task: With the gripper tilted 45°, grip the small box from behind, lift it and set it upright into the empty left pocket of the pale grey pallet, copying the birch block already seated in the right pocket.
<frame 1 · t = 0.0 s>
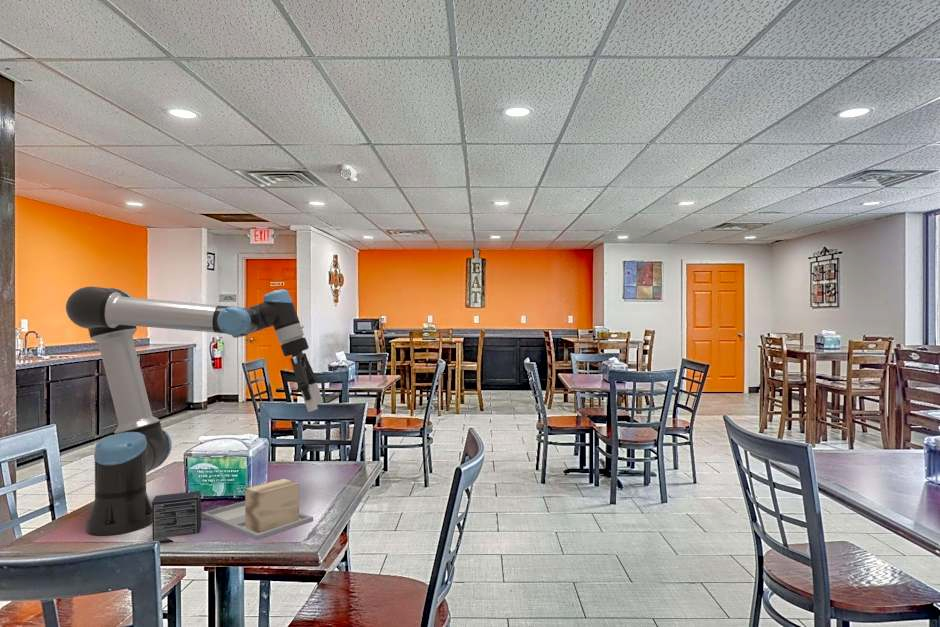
hand: (316, 407, 171), 28 cm above the table, tool tilted 20°, fingers open, 13 cm apart
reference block: (272, 524, 146), point 1 cm above the table, touching pallet
pallet: (256, 524, 150), on the table
small box: (177, 538, 142), on the table
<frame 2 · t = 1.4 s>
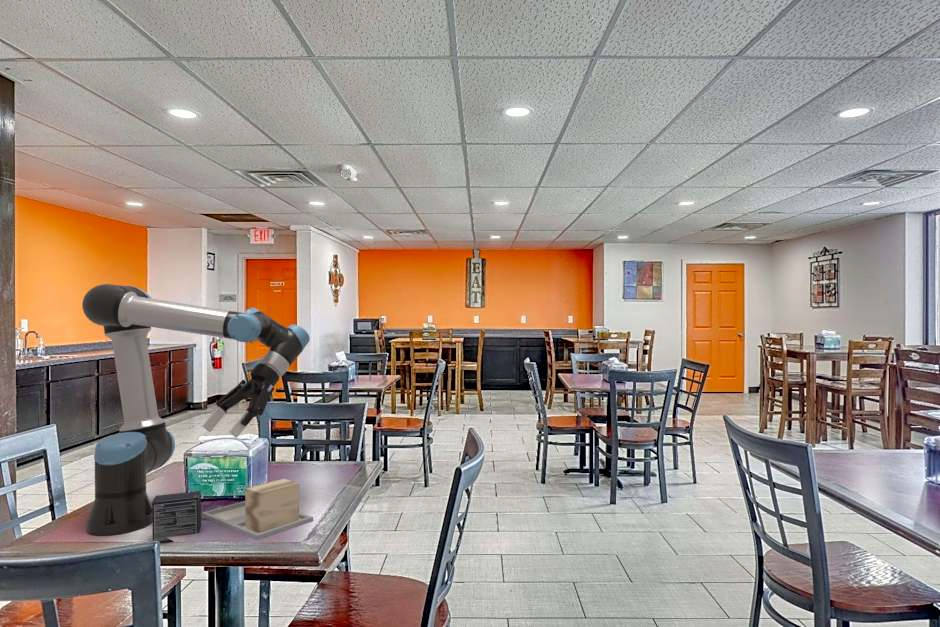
hand: (218, 431, 150), 25 cm above the table, tool tilted 45°, fingers open, 13 cm apart
nothing on the table moved.
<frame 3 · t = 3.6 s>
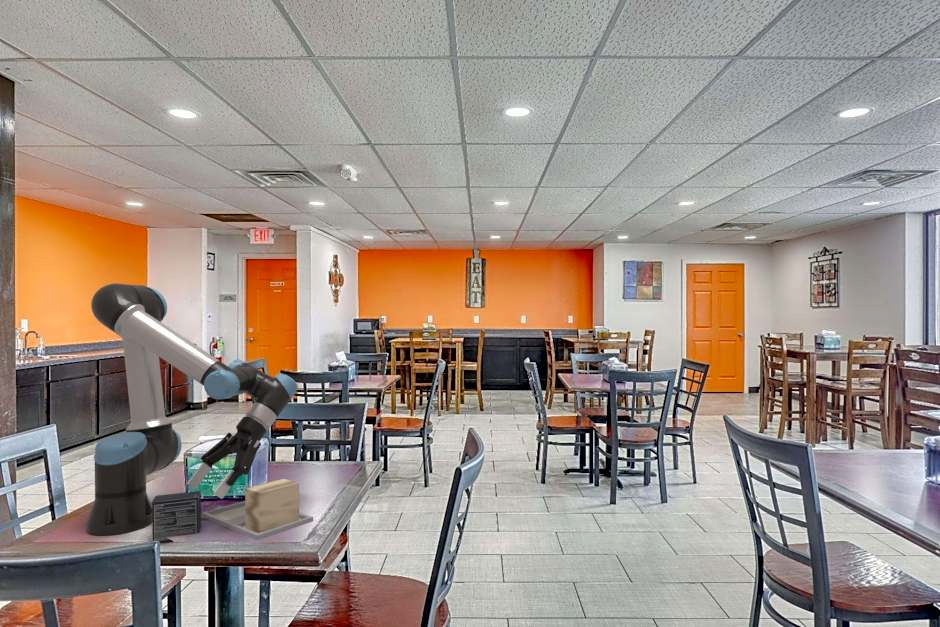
hand: (203, 491, 146), 10 cm above the table, tool tilted 45°, fingers open, 13 cm apart
nothing on the table moved.
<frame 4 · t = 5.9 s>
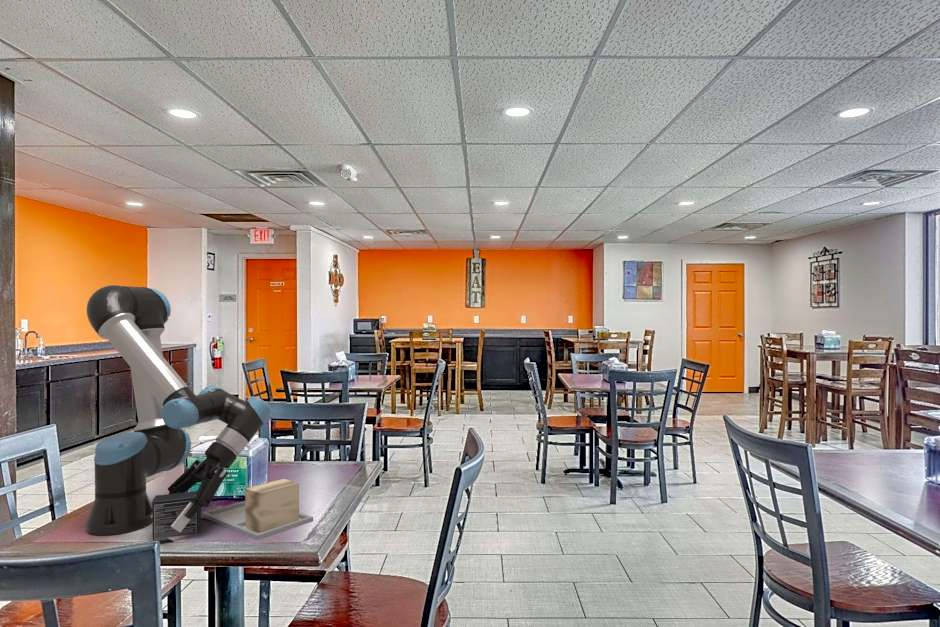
hand: (165, 524, 139), 4 cm above the table, tool tilted 45°, fingers closed on small box, 10 cm apart
small box: (177, 538, 142), on the table, touching gripper
everything else where it was.
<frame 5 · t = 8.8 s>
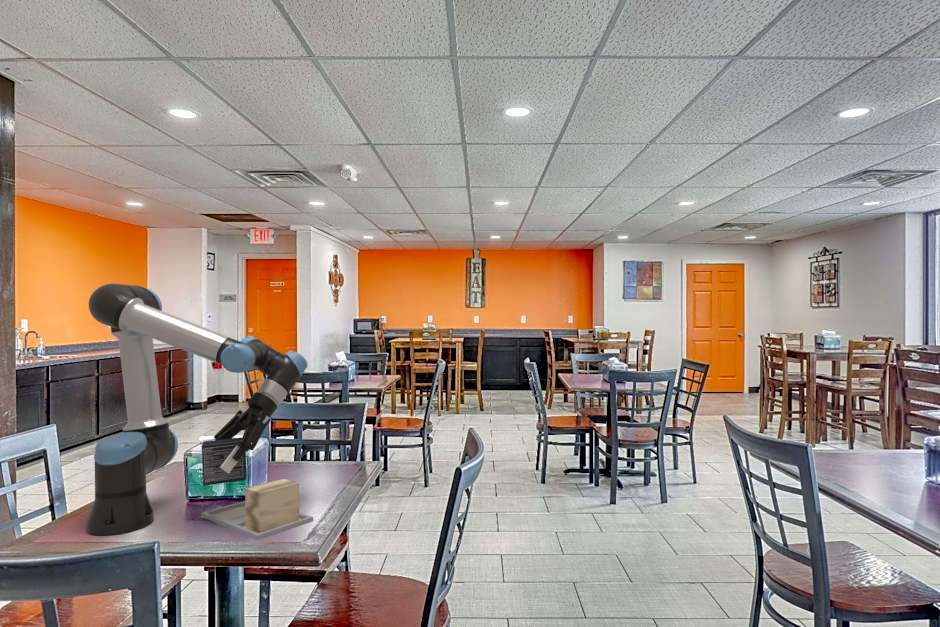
hand: (213, 467, 148), 16 cm above the table, tool tilted 45°, fingers closed on small box, 10 cm apart
small box: (225, 480, 151), point 12 cm above the table, touching gripper
everything else where it was.
when the fingers open (7 cm above the table, at t = 11.7 s): small box stays where it is, resting on pallet.
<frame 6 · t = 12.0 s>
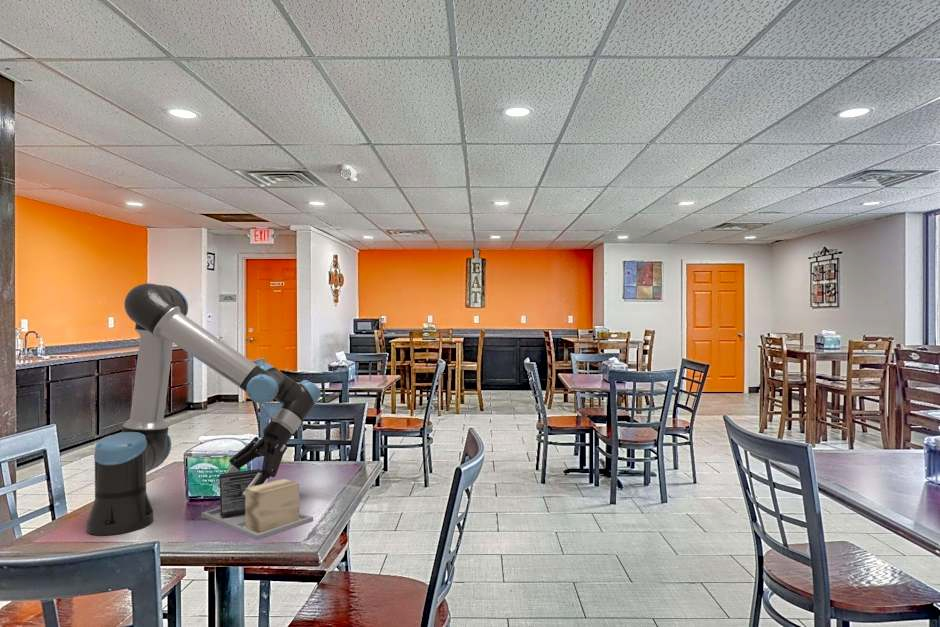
hand: (232, 492, 153), 8 cm above the table, tool tilted 45°, fingers open, 13 cm apart
small box: (241, 511, 155), point 2 cm above the table, touching pallet
everything else where it was.
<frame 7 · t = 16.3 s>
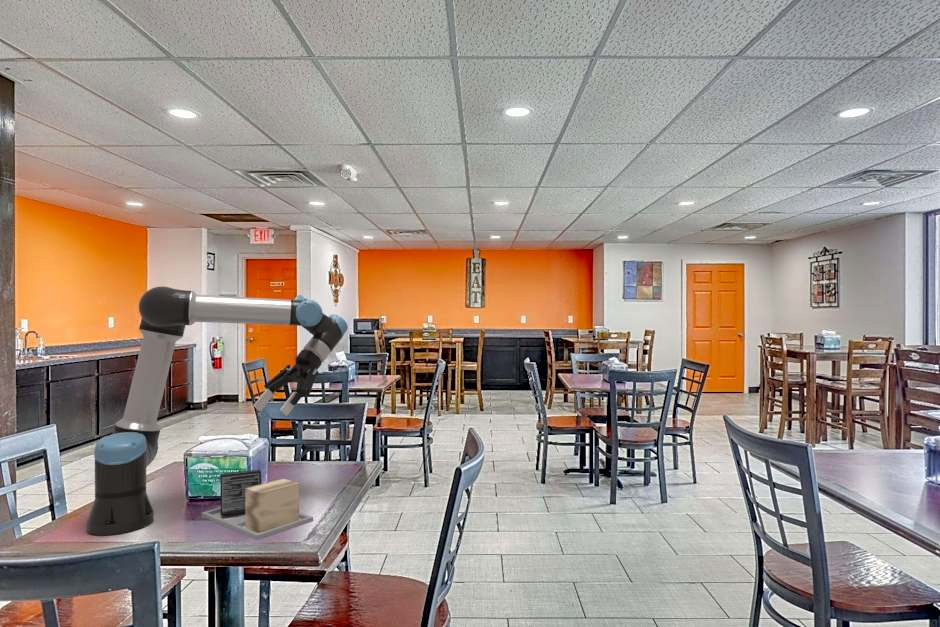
hand: (269, 410, 166), 28 cm above the table, tool tilted 45°, fingers open, 13 cm apart
nothing on the table moved.
at the end: small box 0.1 cm from the target spot on the pallet, point 1.8 cm above the pallet's base; small box tilted 10°; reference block moved 0.0 cm from its start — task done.
